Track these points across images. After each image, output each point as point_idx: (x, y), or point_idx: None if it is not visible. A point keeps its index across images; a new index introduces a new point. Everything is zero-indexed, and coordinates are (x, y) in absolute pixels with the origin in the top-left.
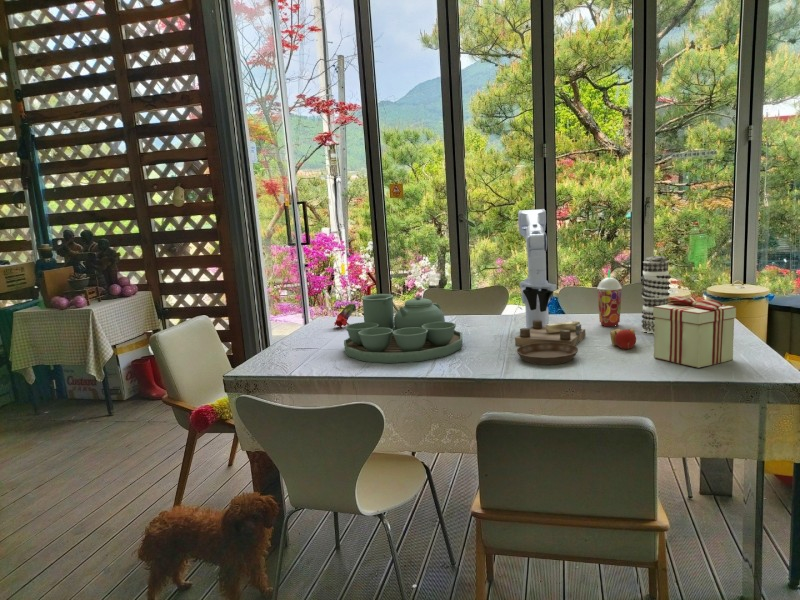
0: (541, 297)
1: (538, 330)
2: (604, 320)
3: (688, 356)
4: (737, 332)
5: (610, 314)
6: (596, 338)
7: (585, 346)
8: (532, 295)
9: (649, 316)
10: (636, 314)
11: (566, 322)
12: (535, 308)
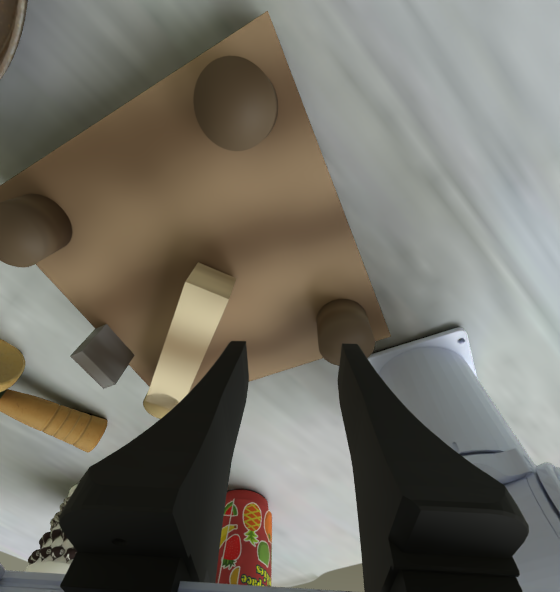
0: (154, 433)
1: (298, 284)
2: (234, 508)
3: None
4: (2, 545)
5: None
6: (128, 381)
7: (34, 271)
8: (368, 478)
9: (63, 541)
10: (279, 579)
11: (186, 384)
12: (339, 382)
